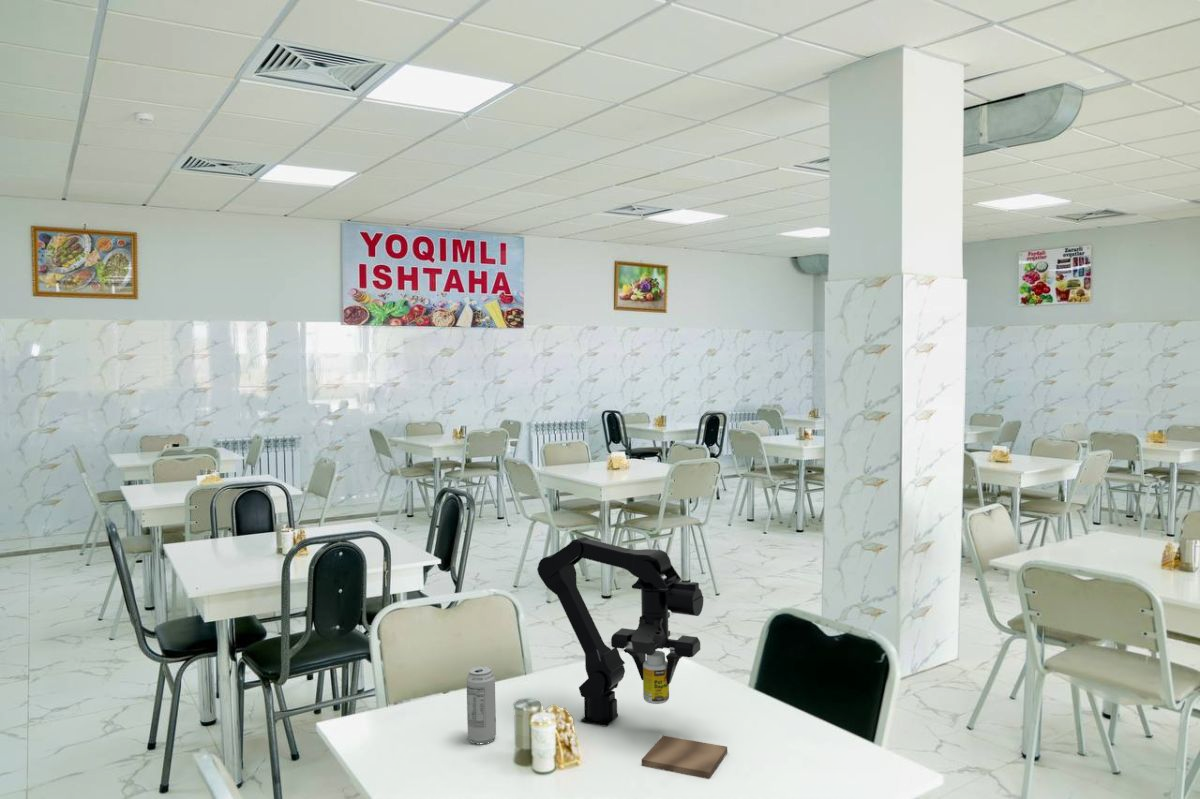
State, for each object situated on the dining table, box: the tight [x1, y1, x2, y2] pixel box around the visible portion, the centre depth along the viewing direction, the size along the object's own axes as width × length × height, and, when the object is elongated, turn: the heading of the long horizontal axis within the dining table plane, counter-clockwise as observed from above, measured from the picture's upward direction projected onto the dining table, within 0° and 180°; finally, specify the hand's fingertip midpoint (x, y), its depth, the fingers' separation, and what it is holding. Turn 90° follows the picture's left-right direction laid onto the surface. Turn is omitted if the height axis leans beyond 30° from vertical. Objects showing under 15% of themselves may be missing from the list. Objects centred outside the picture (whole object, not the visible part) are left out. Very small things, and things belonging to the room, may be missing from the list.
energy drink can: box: [465, 665, 497, 745], centre depth 181 cm, size 6×6×15 cm
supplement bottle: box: [642, 650, 670, 705], centre depth 183 cm, size 6×6×10 cm
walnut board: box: [641, 734, 728, 779], centre depth 170 cm, size 14×12×1 cm
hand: (656, 681), depth 183 cm, fingers closed on supplement bottle, 5 cm apart
